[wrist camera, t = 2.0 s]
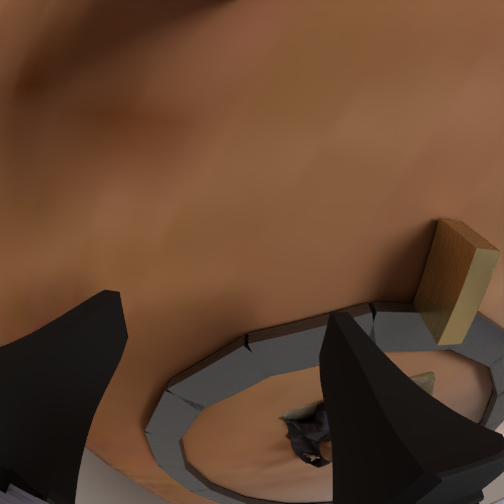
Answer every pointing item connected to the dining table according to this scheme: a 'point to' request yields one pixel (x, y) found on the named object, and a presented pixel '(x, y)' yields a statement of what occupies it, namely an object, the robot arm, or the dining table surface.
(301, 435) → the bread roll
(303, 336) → the turntable ring
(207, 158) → the dining table surface
